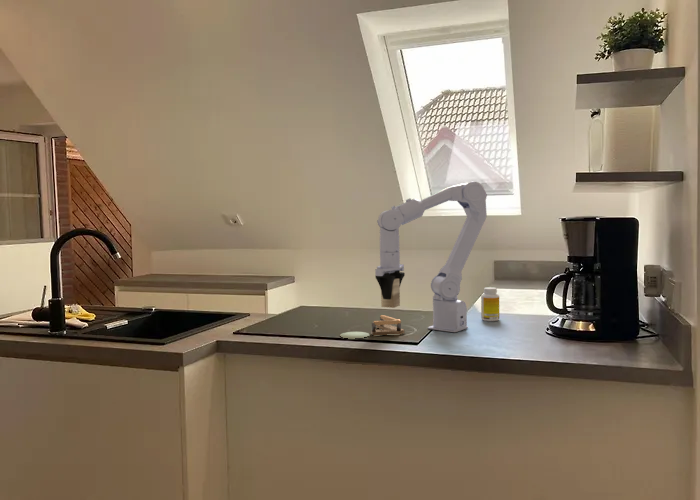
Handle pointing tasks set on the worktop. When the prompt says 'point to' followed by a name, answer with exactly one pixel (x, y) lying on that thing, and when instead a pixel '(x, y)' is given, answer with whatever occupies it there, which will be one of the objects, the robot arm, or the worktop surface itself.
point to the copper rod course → (386, 326)
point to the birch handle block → (392, 296)
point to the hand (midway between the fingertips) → (390, 298)
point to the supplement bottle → (490, 304)
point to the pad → (354, 335)
